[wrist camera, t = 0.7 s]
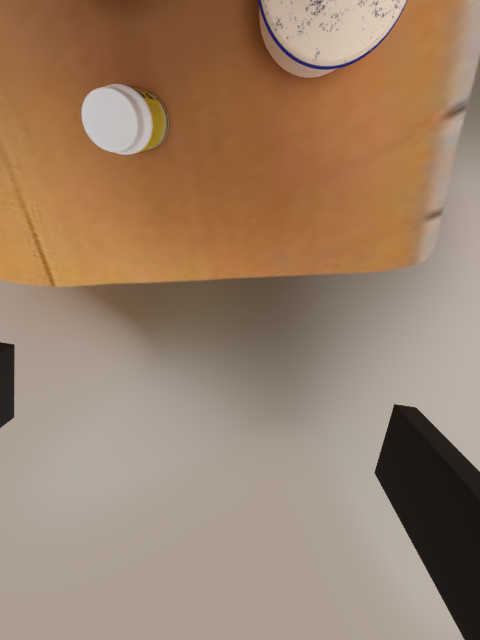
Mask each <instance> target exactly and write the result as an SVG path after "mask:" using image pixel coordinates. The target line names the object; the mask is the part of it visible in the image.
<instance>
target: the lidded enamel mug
mask: <svg viewBox="0 0 480 640" xmlns="http://www.w3.org/2000/svg"><path fill="white" fill-rule="evenodd" d="M258 2H259V22H260V29H261V34H262V37H263V40H264V43H265V46H266V48H267V50H268V52H269V53H270V55H271V57H272V58H273V59H274V61H275V62H276V63H277V64H278V65H279V66H280V67H281V68H283V69H284V70H285V71H287V72H289V73H291V74H293V75H296V76H299V77H305V78H313V77H319V76H323V75H326V74H328V73H330V72H332V71H334V70H336V69H337V68H341V67H344V66H347V65H350V64H352V63H354V62H356V61H358V60H360V59H362V58H363V57H365V56H366V55H367V54H369V53H370V52H371V51H372V50H374V49H375V48H376V47H377V46H378V45H379V44H380V43H381V42H382V41H383V40H384V38H385V37H386V36H387V35H388V34H389V32H390V31H391V29H392V28H393V27H394V25H395V24H396V22H397V20H398V19H399V17H400V15H401V13H402V11H403V9H404V7H405V5H406V2H407V0H258Z"/></svg>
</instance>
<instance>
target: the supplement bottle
mask: <svg viewBox="0 0 480 640" xmlns="http://www.w3.org/2000/svg"><path fill="white" fill-rule="evenodd" d="M81 116H82V122H83V126H84V128H85V131H86V133H87V135H88V136H89V138H90V139H91V140H92V141H93V142H94V143H95V144H96V145H97V146H99V147H100V148H102V149H104V150H106V151H109V152H115V153H117V154H122V155H130V154H136V153H139V152H142V151H146V150H150V149H153V148H156V147H157V146H159V145H160V144H161V143H162V142H163V141H164V140H165V138H166V136H167V133H168V128H169V119H168V114H167V111H166V109H165V107H164V105H163V103H162V102H161V101H160V100H159V98H158V97H156V96H155V95H154V94H152V93H151V92H149V91H146V90H143V89H139V88H135V87H131V86H128V85H124V84H110V85H106V86H104V87H100V88H97V89H94V90H92V91H91V92H90V93H89V94H88V95H87V96H86V98H85V99H84V102H83V105H82V111H81Z"/></svg>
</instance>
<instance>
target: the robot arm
mask: <svg viewBox="0 0 480 640" xmlns="http://www.w3.org/2000/svg"><path fill="white" fill-rule="evenodd" d="M12 418H14V344H7V343H1V342H0V428H1V427H2V426H3V425H5V424H6V423H7V422H9V421H10V420H11V419H12ZM375 474H376V476H377V478H378V480H379V482H380V484H381V486H382V487H383V489H384V491H385V493H386V495H387V497H388V499H389V500H390V502H391V504H392V506H393V508H394V510H395V512H396V513H397V515H398V517H399V519H400V521H401V523H402V525H403V526H404V528H405V530H406V532H407V534H408V536H409V538H410V539H411V541H412V543H413V545H414V547H415V549H416V550H417V552H418V554H419V556H420V558H421V559H422V561H423V563H424V565H425V567H426V569H427V571H428V573H429V574H430V576H431V578H432V580H433V582H434V584H435V586H436V587H437V589H438V591H439V593H440V595H441V597H442V599H443V600H444V602H445V604H446V606H447V608H448V610H449V612H450V614H451V615H452V617H453V619H454V621H455V623H456V625H457V626H458V628H459V630H460V632H461V634H462V636H463V638H464V639H465V640H480V472H479V471H478V470H477V469H476V468H475V467H474V466H473V465H472V464H471V463H470V462H469V461H468V460H467V459H466V458H465V457H464V456H463V455H462V453H461V452H459V451H458V449H457V448H456V447H455V446H453V444H452V443H451V442H450V441H449V440H448V439H447V438H446V437H445V436H444V435H443V434H442V433H441V432H440V431H439V430H438V429H437V428H436V427H435V426H434V425H433V424H432V423H431V422H430V421H429V420H428V419H427V418H426V417H425V416H424V415H423V414H422V413H421V412H420V411H419V410H418V409H417V408H415V407H409V406H408V407H407V406H402V405H396V404H395V405H394V408H393V411H392V414H391V418H390V421H389V425H388V428H387V432H386V435H385V439H384V442H383V445H382V449H381V452H380V456H379V459H378V463H377V466H376V470H375Z"/></svg>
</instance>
